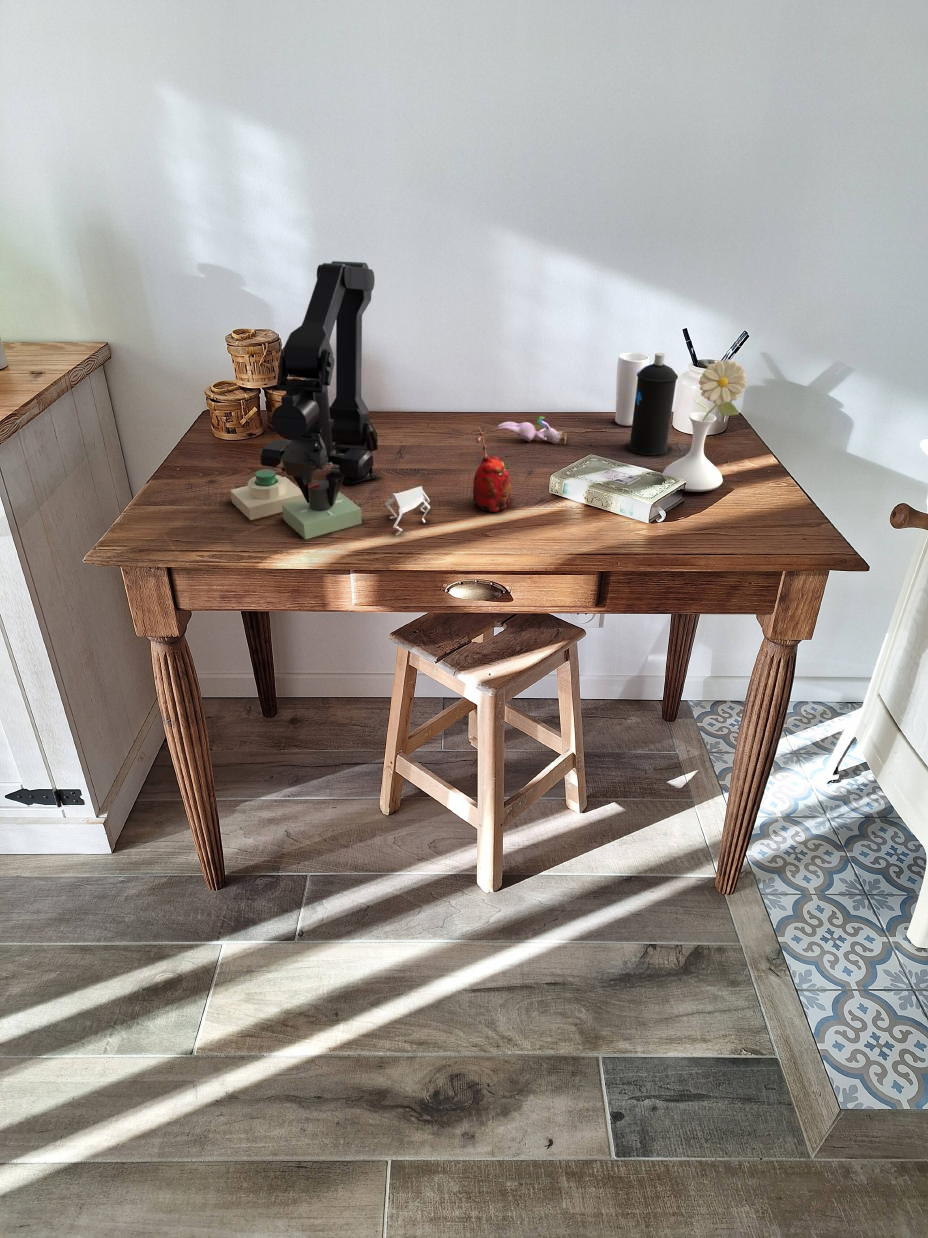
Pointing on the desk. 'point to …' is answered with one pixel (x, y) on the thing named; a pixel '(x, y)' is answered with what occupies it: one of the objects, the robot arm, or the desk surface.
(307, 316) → the robot arm
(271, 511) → the button base
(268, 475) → the green button cap
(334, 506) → the console
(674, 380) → the aerosol can
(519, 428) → the rabbit figure
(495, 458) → the red clay folk toy
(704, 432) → the flower in vase
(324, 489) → the dial
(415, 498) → the white block with legs
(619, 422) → the white cylindrical vase
